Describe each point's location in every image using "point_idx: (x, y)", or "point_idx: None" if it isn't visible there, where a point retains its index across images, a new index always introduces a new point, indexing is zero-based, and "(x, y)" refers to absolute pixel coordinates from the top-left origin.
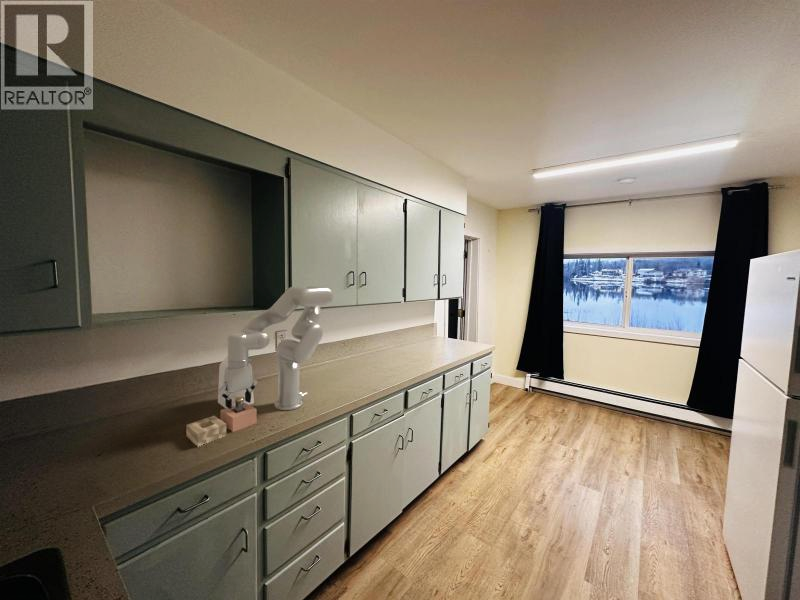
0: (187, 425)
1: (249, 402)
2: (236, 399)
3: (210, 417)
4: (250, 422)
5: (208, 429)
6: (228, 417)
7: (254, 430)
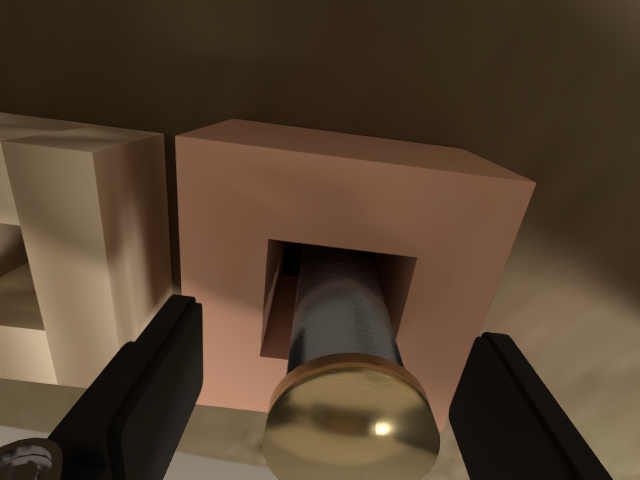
0: None
1: (455, 417)
2: (279, 456)
3: (42, 165)
4: None
5: None
6: None
7: None
